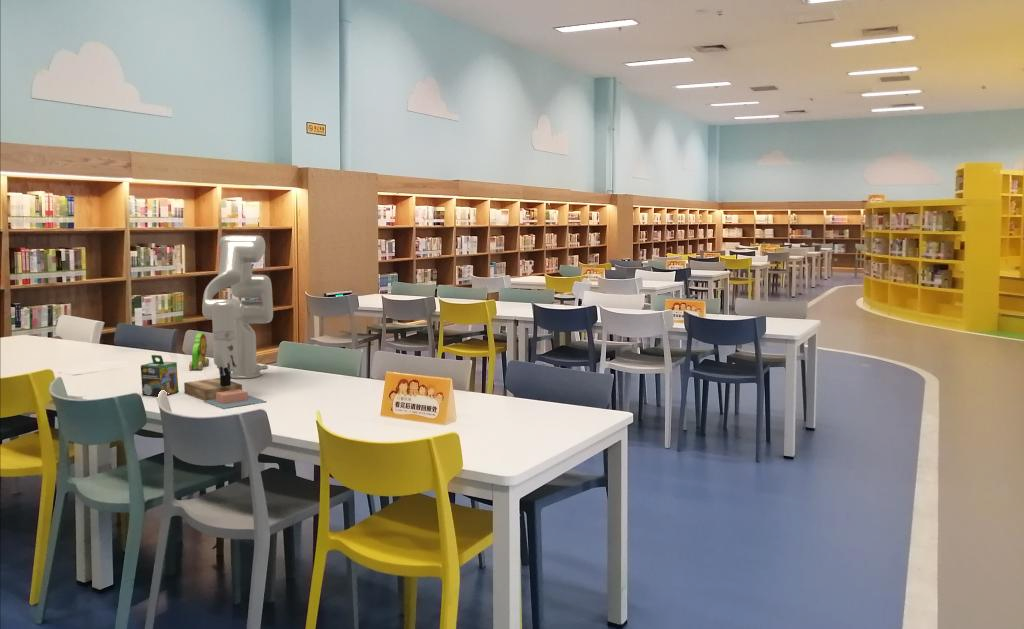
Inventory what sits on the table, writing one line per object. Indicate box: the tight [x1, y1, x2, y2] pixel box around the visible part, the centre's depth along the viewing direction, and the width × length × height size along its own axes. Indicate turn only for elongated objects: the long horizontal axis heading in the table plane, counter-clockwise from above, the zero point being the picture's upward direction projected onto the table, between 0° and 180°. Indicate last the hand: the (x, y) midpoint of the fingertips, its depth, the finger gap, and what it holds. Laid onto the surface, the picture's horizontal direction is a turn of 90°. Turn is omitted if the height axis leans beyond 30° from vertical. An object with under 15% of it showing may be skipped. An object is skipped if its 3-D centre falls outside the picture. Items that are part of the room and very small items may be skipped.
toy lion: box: [188, 332, 210, 371], centre depth 350 cm, size 16×5×15 cm, turn 6°
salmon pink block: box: [216, 389, 249, 404], centre depth 285 cm, size 9×6×3 cm, turn 134°
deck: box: [183, 377, 243, 401], centre depth 296 cm, size 14×18×4 cm
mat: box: [202, 394, 264, 410], centre depth 284 cm, size 16×16×1 cm
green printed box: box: [140, 354, 179, 397], centre depth 296 cm, size 9×9×15 cm
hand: (225, 385), depth 289 cm, fingers closed
